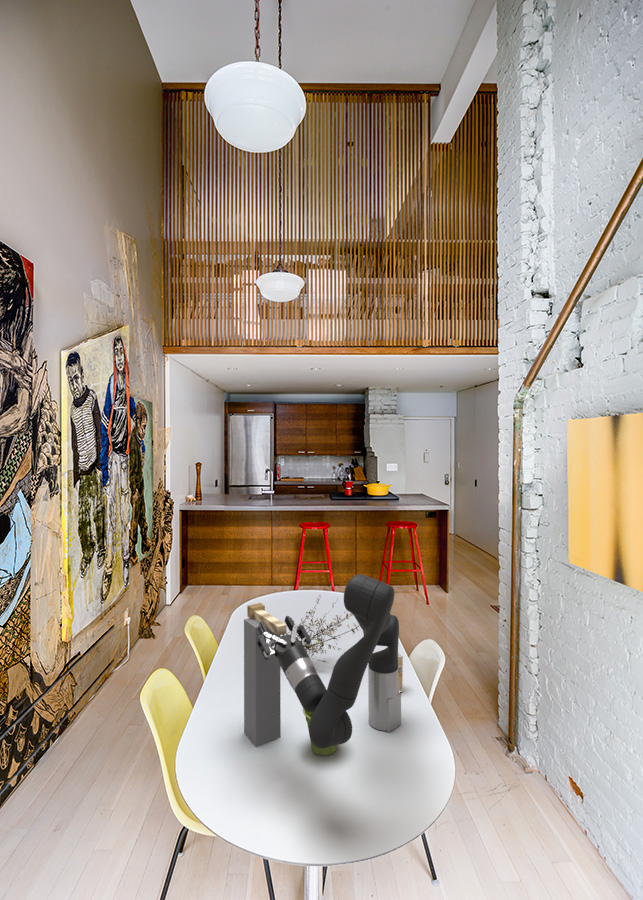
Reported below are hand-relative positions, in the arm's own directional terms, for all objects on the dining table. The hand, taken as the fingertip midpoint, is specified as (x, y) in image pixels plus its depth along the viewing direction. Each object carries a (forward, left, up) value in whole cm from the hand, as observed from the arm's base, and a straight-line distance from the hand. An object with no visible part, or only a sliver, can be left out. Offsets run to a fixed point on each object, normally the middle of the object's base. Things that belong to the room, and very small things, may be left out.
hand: (273, 620), depth 130 cm
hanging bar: (+4, -1, -2) cm, 4 cm away
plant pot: (-10, -10, -36) cm, 39 cm away
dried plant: (+28, -47, -36) cm, 66 cm away
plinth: (+7, -1, -36) cm, 37 cm away
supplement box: (-4, -48, -36) cm, 61 cm away
